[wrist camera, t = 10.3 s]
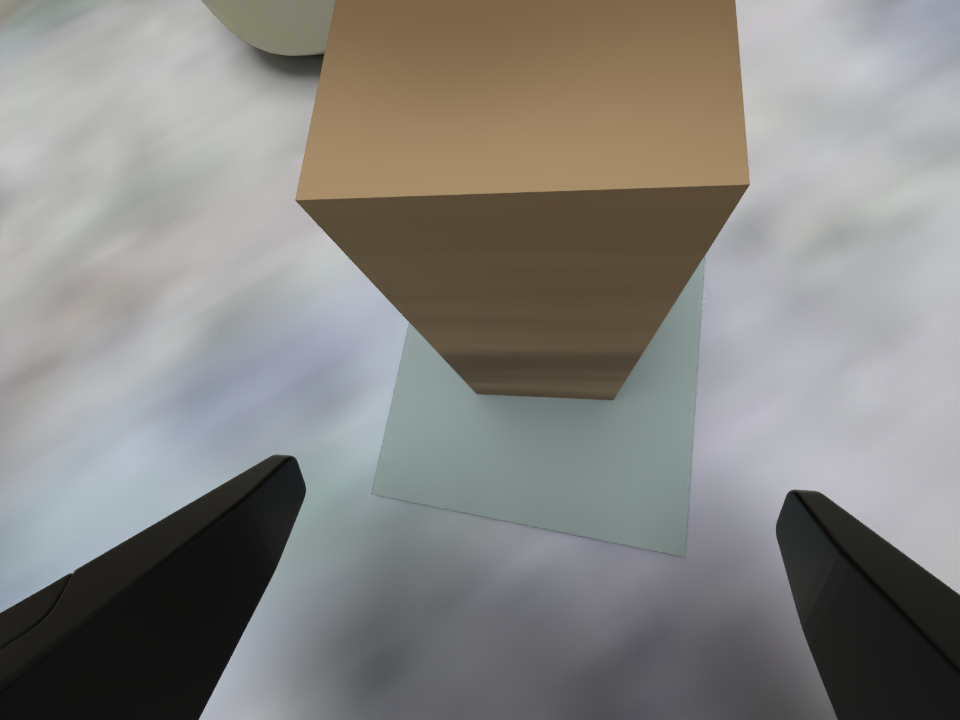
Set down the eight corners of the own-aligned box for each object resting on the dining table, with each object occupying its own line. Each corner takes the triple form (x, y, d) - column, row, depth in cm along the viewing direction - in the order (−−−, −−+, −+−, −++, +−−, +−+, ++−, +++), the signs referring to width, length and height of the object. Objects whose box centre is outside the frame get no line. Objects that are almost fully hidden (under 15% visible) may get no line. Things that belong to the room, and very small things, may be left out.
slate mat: (682, 555, 15) (685, 557, 15) (375, 493, 17) (371, 494, 17) (706, 186, 18) (710, 180, 18) (445, 174, 21) (442, 169, 20)
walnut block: (613, 400, 16) (750, 184, 5) (476, 394, 17) (295, 199, 6) (613, 272, 18) (723, -159, 6) (486, 272, 19) (355, -101, 7)
